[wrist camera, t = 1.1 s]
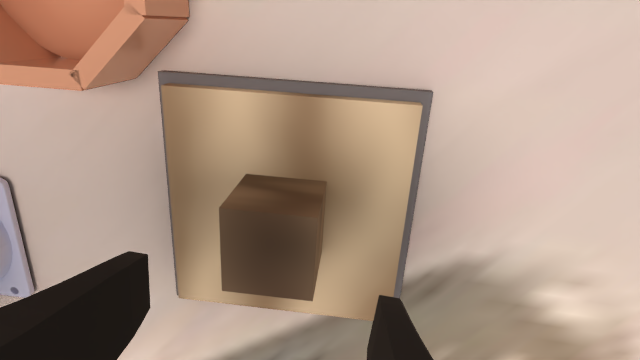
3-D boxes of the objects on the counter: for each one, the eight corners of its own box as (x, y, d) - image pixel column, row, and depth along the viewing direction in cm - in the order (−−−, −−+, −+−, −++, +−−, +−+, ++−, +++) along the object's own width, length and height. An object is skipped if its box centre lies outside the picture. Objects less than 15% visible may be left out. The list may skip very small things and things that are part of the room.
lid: (184, 289, 24) (143, 350, 19) (168, 82, 19) (110, 100, 15) (388, 312, 23) (394, 382, 18) (420, 102, 18) (438, 126, 14)
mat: (180, 290, 24) (176, 295, 24) (162, 70, 20) (157, 71, 19) (395, 315, 23) (396, 321, 23) (431, 90, 19) (433, 92, 18)
